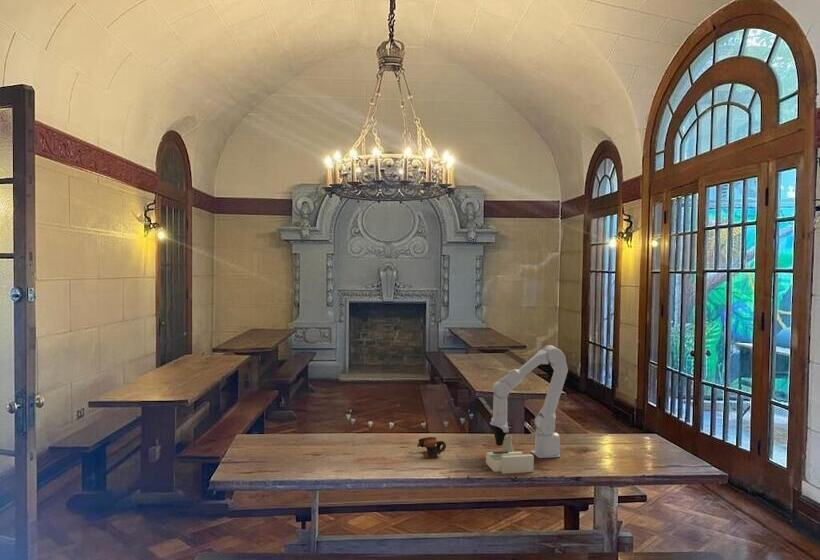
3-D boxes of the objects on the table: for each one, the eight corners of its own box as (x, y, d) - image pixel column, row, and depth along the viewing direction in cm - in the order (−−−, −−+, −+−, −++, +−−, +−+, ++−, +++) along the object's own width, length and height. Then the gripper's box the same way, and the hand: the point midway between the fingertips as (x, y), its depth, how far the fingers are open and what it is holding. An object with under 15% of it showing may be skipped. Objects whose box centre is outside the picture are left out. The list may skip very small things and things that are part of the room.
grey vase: (517, 466, 221) (518, 440, 221) (498, 465, 222) (498, 439, 222) (516, 460, 228) (517, 434, 228) (498, 458, 230) (498, 433, 229)
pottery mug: (415, 459, 228) (413, 438, 232) (422, 463, 237) (420, 442, 240) (445, 454, 226) (442, 433, 230) (451, 458, 234) (448, 437, 238)
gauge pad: (520, 464, 223) (521, 449, 222) (522, 465, 221) (522, 451, 221) (492, 466, 220) (492, 451, 220) (493, 467, 219) (493, 452, 219)
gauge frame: (521, 461, 227) (521, 445, 227) (533, 471, 216) (533, 455, 216) (485, 463, 224) (486, 447, 224) (496, 474, 213) (496, 458, 213)
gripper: (484, 407, 240) (483, 439, 240) (496, 416, 226) (496, 451, 226) (500, 406, 241) (500, 439, 242) (514, 416, 227) (513, 450, 228)
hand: (499, 445), depth 234 cm, fingers closed
